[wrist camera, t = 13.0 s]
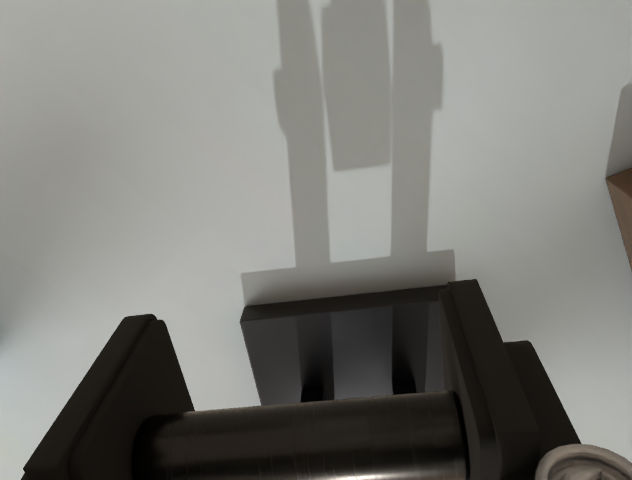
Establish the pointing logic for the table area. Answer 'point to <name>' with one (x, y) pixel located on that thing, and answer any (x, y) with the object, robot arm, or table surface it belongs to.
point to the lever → (310, 441)
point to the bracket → (346, 346)
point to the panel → (623, 205)
